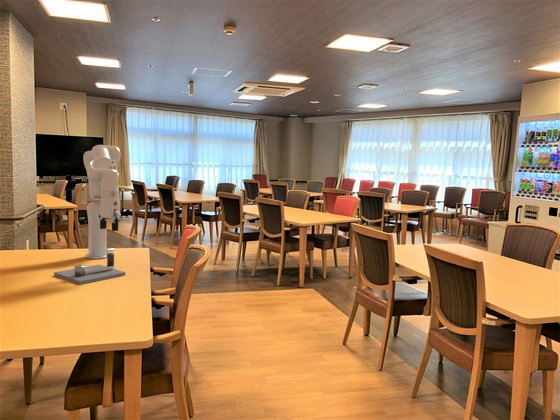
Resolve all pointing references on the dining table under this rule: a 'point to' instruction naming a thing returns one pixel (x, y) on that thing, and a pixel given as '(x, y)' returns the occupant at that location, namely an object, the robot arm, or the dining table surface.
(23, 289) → the dining table surface
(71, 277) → the board
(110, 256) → the swing lever
